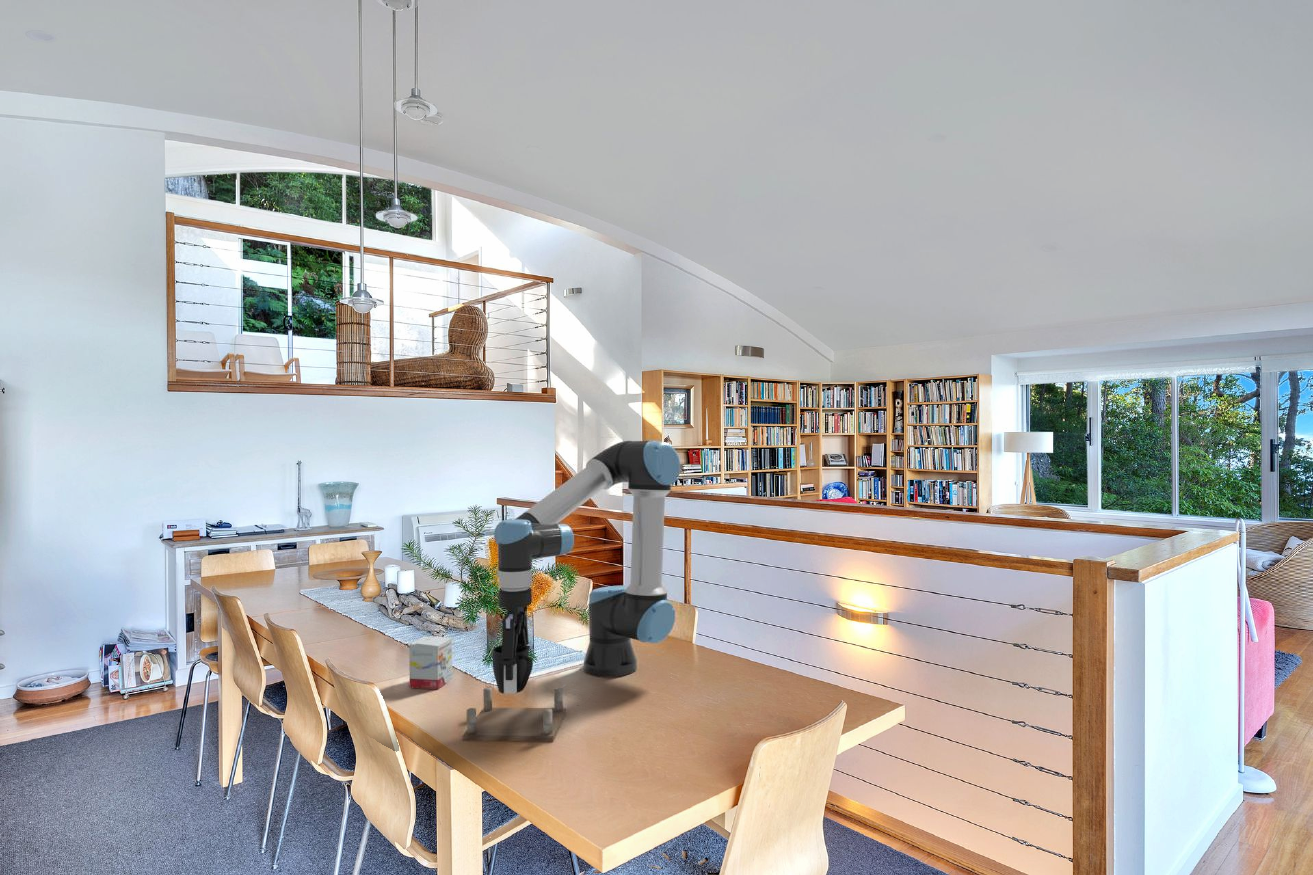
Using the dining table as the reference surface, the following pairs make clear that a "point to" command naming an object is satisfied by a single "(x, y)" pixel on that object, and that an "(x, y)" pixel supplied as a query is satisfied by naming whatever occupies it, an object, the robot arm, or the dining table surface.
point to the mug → (523, 667)
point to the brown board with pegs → (514, 721)
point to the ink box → (430, 662)
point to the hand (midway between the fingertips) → (515, 685)
